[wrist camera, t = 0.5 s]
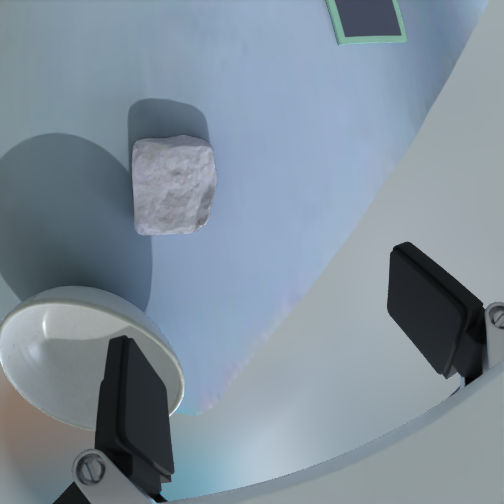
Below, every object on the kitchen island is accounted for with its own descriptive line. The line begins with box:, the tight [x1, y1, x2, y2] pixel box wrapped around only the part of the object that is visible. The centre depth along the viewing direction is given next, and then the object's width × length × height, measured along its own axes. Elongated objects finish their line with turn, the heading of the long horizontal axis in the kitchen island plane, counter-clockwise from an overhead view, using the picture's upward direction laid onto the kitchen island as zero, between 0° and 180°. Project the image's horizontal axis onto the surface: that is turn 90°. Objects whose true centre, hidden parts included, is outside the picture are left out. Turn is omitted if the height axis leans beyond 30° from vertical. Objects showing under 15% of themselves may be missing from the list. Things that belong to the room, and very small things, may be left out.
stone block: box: [132, 135, 217, 236], centre depth 35 cm, size 12×5×10 cm
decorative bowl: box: [0, 286, 185, 431], centre depth 38 cm, size 27×27×12 cm
